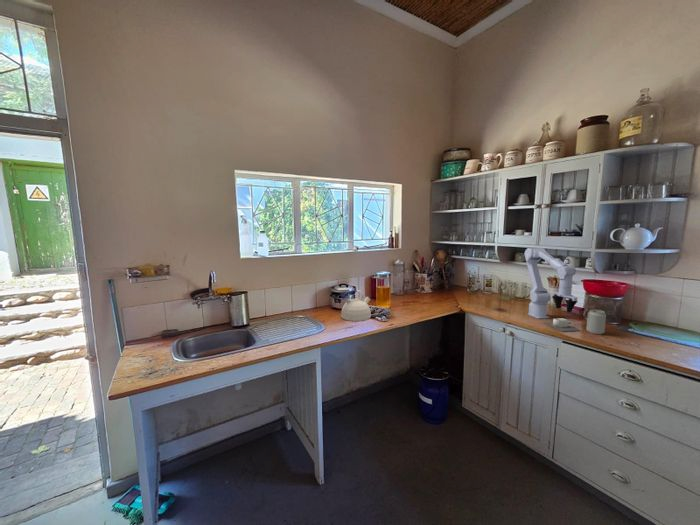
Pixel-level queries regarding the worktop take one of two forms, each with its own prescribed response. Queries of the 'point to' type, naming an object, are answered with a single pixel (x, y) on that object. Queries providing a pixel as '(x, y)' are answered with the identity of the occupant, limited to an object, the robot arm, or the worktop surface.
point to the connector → (560, 322)
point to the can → (596, 321)
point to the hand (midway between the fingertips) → (563, 310)
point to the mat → (563, 329)
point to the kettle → (356, 308)
